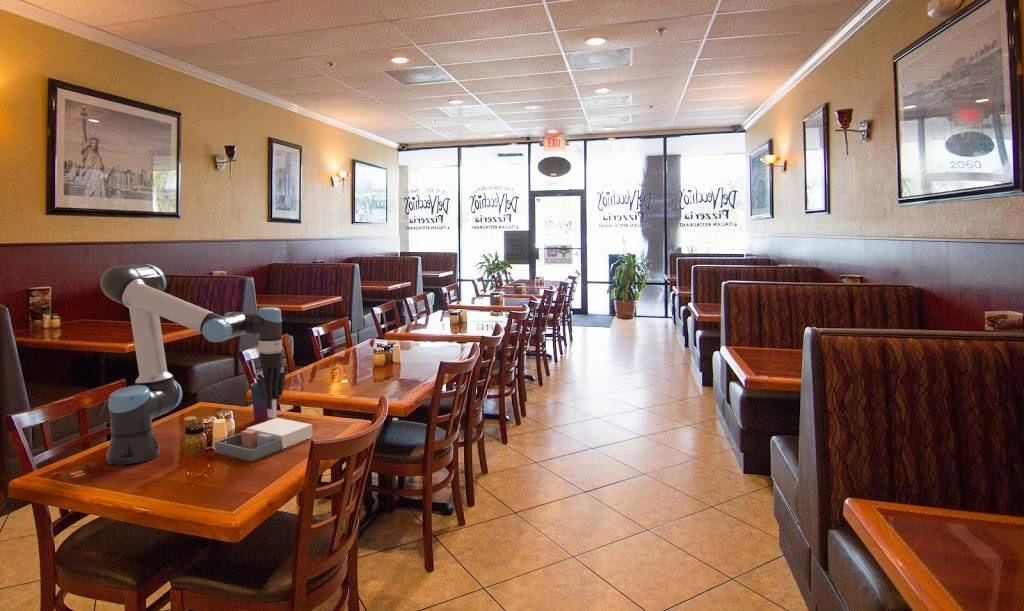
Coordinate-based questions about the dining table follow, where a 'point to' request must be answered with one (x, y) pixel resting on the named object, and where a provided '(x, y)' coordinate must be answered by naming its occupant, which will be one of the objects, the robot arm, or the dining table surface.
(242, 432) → the terracotta tile
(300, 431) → the raised board
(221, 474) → the dining table surface
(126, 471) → the dining table surface
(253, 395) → the cup
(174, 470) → the dining table surface
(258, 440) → the slate tile
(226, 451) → the box
